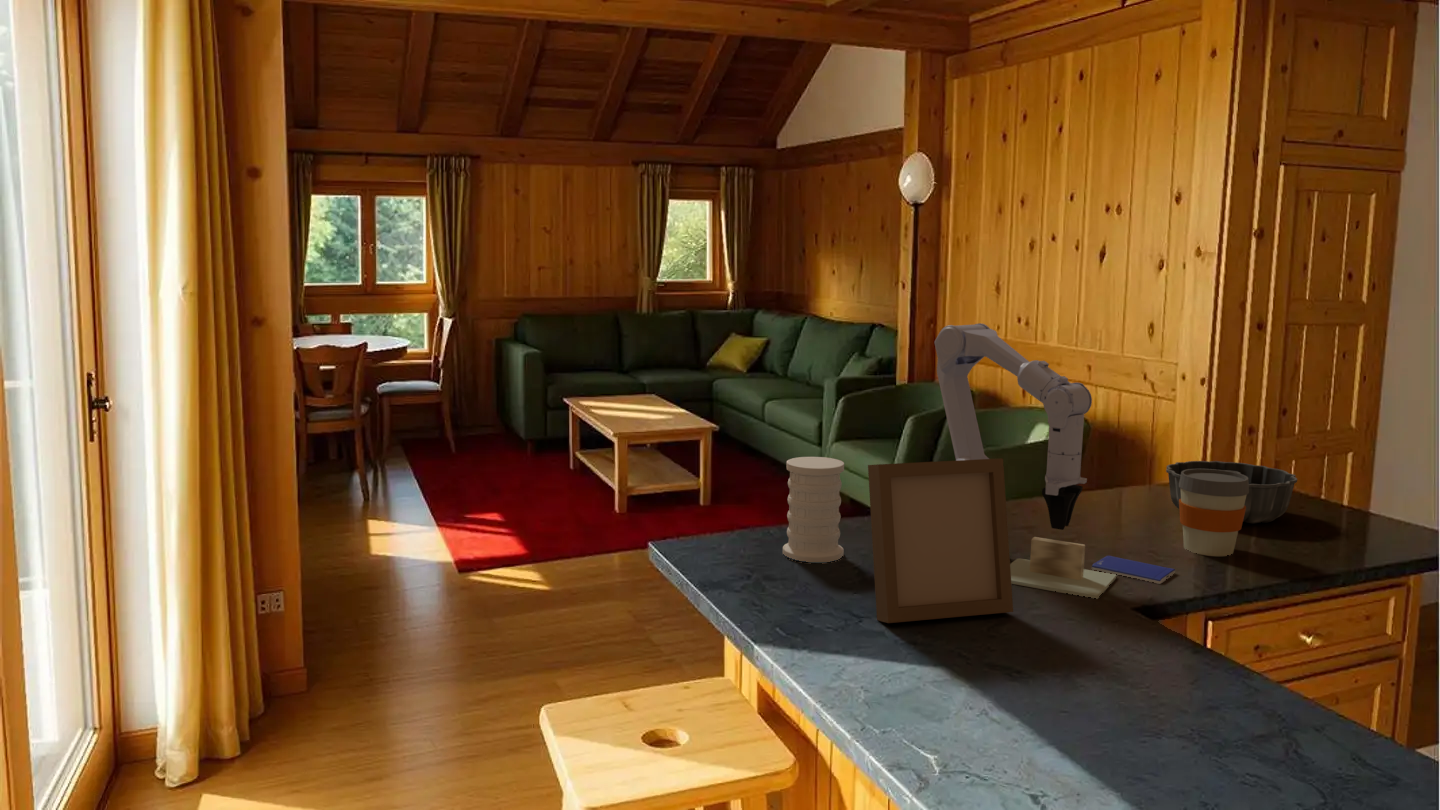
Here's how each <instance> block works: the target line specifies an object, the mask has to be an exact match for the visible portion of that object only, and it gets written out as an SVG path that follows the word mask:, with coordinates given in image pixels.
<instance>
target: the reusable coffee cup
mask: <svg viewBox="0 0 1440 810" xmlns="http://www.w3.org/2000/svg"><path fill="white" fill-rule="evenodd" d="M1179 487H1180V489H1181V499H1179V509H1178V510H1179V524H1181V525H1182V534H1183V535H1182V539H1183V549H1184V550H1186V549H1187V550H1189V551H1188V552H1190V551H1191V553H1194V554H1196V553H1197V555H1201V556H1208V557H1228V556H1227V555H1229V556H1232V555H1233V554H1234V551H1235V547H1236V542H1237V537H1238V534H1239V531H1241V530H1242V526H1243V522H1244V521H1243V519H1244V514H1245V510H1246V506H1245V505H1244V504H1245V500H1246V495H1247V494H1248V493H1249V480H1248V477H1247V476H1245V475H1242V474H1239V473H1235V472H1230V471H1224V470H1216V469H1187V470H1183V471H1182V472H1181V476H1180V481H1179ZM1187 550H1186V551H1187ZM1231 554H1232V555H1231Z"/></svg>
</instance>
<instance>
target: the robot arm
mask: <svg viewBox="0 0 1440 810" xmlns="http://www.w3.org/2000/svg"><path fill="white" fill-rule="evenodd" d="M934 346H935V352H936V356H937V363H936V373H937V375H936V376H937V379H938V383H939V387H940V392H941V397H942V402H943V406H944V411H945V416H946V421H947V425H948V429H949V435H950V439H951V444H952V448H953V453H954V457H955V461H959V460H979V459H990V458H989V457H988V456H987V455H986V454H985V450H984V445H983V442H982V437H981V433H980V428H979V424H978V423H979V422H978V420H977V415H976V410H975V406H974V401H973V396H972V392H971V387H970V383H969V379H968V377H969V376H968V375H969V374H970V372H971V371H972V369H973V367H974V366H976V365H977V364H978V363H979V362H981V360H982V359H984V358H985V357H986V358H987V359H988V360H990V361H992V362H993V363H995V364H997V365H998V366H999V367H1001V368H1003V369H1005V370H1006V371H1008V372H1010V373H1011V374H1013V375H1014V376H1015V377H1016V378H1017V384H1018V386H1019V387H1020V388H1021V389H1023V390H1024V391H1025V392H1027V393H1028V394H1030V395H1031V396H1032V397H1033V398H1035V399H1036V400H1037V401H1039V402H1040V403H1041V404H1042V405H1043V408H1044V411H1045V413H1046V415H1047V424H1048V426H1049V427H1048V443H1047V446H1048V447H1047V458H1046V460H1047V461H1046V474H1045V475H1044V481H1045V487H1043V488H1042V489H1041V495H1042V497H1043V499H1044V501H1045V503H1046V507H1047V510H1048V517H1049V521H1050V526H1051V527H1050V528H1051V529H1054V530H1061V531H1063V530H1065V529H1066V527H1068V526H1069V525H1070V522H1071V519H1072V515H1073V512H1074V508H1075V505H1076V502H1077V500H1078V498H1079V496H1080V495H1081V493H1082V491H1083V486H1082V484H1083V485H1084V484H1085V485H1086V483H1088V482H1087V481H1088V478H1086V477H1081V470H1082V469H1081V468H1082V466H1081V465H1082V454H1083V453H1082V452H1083V451H1082V450H1083V440H1084V439H1083V438H1084V437H1083V436H1084V435H1083V434H1084V425H1085V423H1084V419H1085V415H1086V414H1087V413H1088V412H1089V410H1090V409H1091V407H1092V404H1093V398H1092V394H1091V391H1090V390H1089V389H1088V388H1087V387H1086V386H1085V385H1084V383H1081V382H1070V381H1069V378H1068V377H1066V376H1064V375H1063V376H1062V375H1060V374H1058V373H1057V372H1056V371H1054V370H1053V369H1051V368H1050V367H1049V365H1050V363H1048V362H1047V361H1045V360H1037V359H1036V360H1031V361H1029V360H1028V359H1026V358H1025V357H1024V356H1023V355H1022V354H1020V353H1019V352H1018V351H1017V350H1015V348H1013V347H1012V346H1010V345H1009V344H1008V343H1007V342H1006V341H1004V340H1003V339H1002V338H1001V337H1000V336H998V332H997V331H996V330H994V329H992V328H990V327H989V325H986V324H985V323H975V324H962V325H959V324H958V325H953V324H950V325H945V326H944V327H943V328H941V330H940V331H939V333H938V334H937V337H936V338H935V340H934ZM1079 484H1081V485H1079Z"/></svg>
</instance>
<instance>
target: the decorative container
mask: <svg viewBox="0 0 1440 810" xmlns="http://www.w3.org/2000/svg"><path fill="white" fill-rule="evenodd" d="M785 467H786V470H787V471H788V472H789V478H788V481H787V486H788V489H789V494H788V496H787V504H788V506H789V507H788V509H789V510H788V511H787V514H786V517H787V521H788V527H787V528H786V535H787V538H788V542H787V543H785V544H784V545H783V546H782V555H783V554H784V555H785V556H787V557H789V558H792V559H795V560H799V561H806V562H830V561H834V560H838V559H840V558H841V557H842V556H843V557H844V547H842V545H840V544H839V539H840V536H841V529H840V528H839V523H840V521H841V517H842V516H841V513H840V506H841V504H842V497H841V495H840V490H841V488H842V485H843V484H842V480H841V473H843V472H844V471H845V462H844V461H842V460H840V459H837V458H833V457H832V458H831V457H825V456H800V457H793V458H789V459H788V460H786V466H785ZM840 560H841V559H840ZM838 561H839V560H838Z"/></svg>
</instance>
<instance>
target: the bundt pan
mask: <svg viewBox="0 0 1440 810" xmlns="http://www.w3.org/2000/svg"><path fill="white" fill-rule="evenodd" d="M1187 469H1216V470H1224V471H1230V472H1235V473H1239V474H1242V475H1245V476H1247V477H1248V480H1249V493H1248V494H1247V495H1246V500H1245V504H1244V505H1245V506H1246V510H1245V514H1244V519H1243V522H1245V523H1247V524H1258V523H1261V522H1262V523H1263V524H1264V523H1270V522H1273V521H1275V520H1276V519H1278V518H1280V517H1282V516H1283V515H1284V514H1285V513H1286V512H1287V510H1288V508H1289V506H1290V502H1291V498H1292V494H1293V490H1294V487H1295V484H1297V483H1298V478H1297V477H1296V474H1293V473H1289V472H1288V471H1286V470H1284V469H1281V468H1280V469H1278V468H1273V467H1268V466H1265V465H1255V464H1250V463H1244V462H1235V461H1218V460H1213V461H1209V460H1208V461H1207V460H1191V461H1188V460H1187V461H1185V462H1183V461H1182V462H1181V461H1180V462H1179V461H1176V462H1175V463H1172V464H1168V465H1166V469H1165V472H1166V473H1168V474H1167V475H1168V484H1169V492H1170V499H1171V502H1172V504H1173V505H1174V506H1175V507H1176V508H1177V509H1178V510H1179V499H1181V489H1180V487H1179V481H1180V476H1181V472H1182V471H1183V470H1187Z"/></svg>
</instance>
